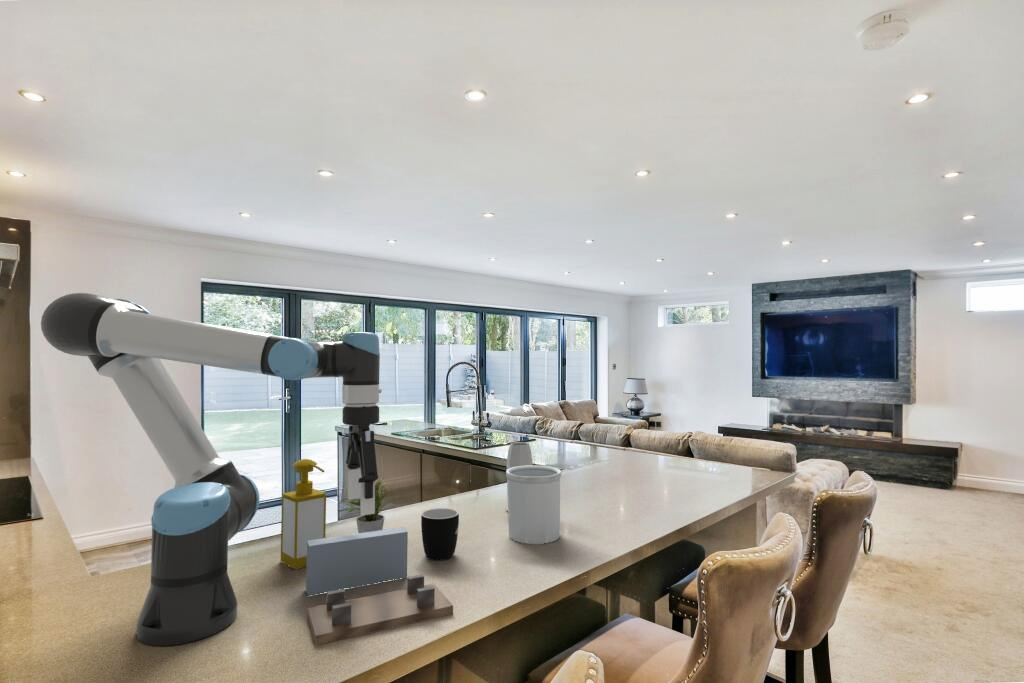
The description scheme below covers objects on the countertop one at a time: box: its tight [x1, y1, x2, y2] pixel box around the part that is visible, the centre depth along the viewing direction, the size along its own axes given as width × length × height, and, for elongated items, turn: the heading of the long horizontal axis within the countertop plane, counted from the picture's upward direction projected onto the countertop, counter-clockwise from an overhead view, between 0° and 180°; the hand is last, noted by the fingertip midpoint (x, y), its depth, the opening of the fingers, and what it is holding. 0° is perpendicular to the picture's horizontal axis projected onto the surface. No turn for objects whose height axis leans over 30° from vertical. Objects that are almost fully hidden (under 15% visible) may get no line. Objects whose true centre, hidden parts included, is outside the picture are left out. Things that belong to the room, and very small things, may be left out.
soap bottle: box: [280, 458, 327, 570], centre depth 121 cm, size 7×13×24 cm, turn 47°
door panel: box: [305, 526, 409, 597], centre depth 111 cm, size 20×4×10 cm, turn 117°
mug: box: [420, 507, 460, 561], centre depth 128 cm, size 12×9×10 cm
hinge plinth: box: [307, 573, 454, 646], centre depth 97 cm, size 24×11×4 cm, turn 117°
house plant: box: [341, 477, 396, 534], centre depth 137 cm, size 14×14×16 cm
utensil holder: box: [505, 464, 562, 545], centre depth 142 cm, size 15×15×18 cm
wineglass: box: [505, 441, 533, 512], centre depth 166 cm, size 9×9×21 cm
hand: (360, 506), depth 111 cm, fingers open, 13 cm apart
